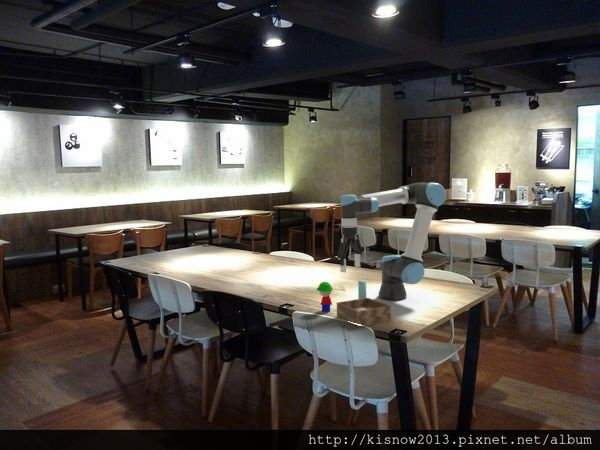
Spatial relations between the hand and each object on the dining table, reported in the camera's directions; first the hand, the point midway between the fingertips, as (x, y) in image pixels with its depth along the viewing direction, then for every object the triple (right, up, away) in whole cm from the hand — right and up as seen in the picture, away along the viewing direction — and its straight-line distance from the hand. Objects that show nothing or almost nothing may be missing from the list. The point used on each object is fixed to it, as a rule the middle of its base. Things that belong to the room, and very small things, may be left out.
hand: (350, 269), depth 243 cm
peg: (+7, -20, +7) cm, 23 cm away
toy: (-12, -21, +3) cm, 25 cm away
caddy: (+5, -22, -11) cm, 25 cm away
